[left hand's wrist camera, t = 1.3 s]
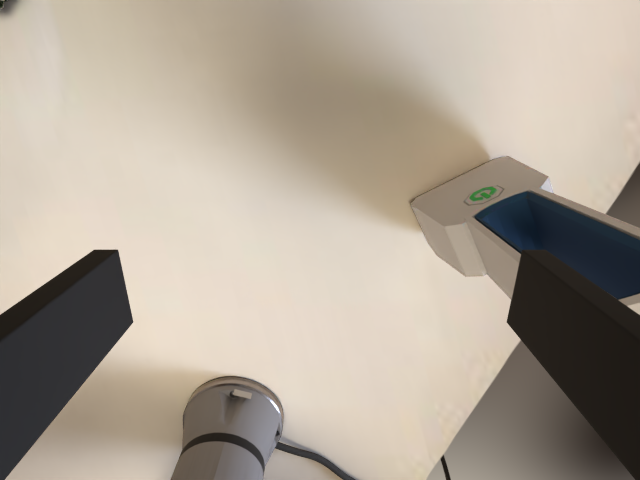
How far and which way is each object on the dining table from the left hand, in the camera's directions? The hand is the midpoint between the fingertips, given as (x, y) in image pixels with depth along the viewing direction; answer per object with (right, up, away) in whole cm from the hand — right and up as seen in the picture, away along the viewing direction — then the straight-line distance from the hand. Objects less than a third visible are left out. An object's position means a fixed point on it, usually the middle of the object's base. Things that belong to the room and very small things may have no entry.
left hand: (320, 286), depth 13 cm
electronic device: (+18, +6, +35) cm, 40 cm away
